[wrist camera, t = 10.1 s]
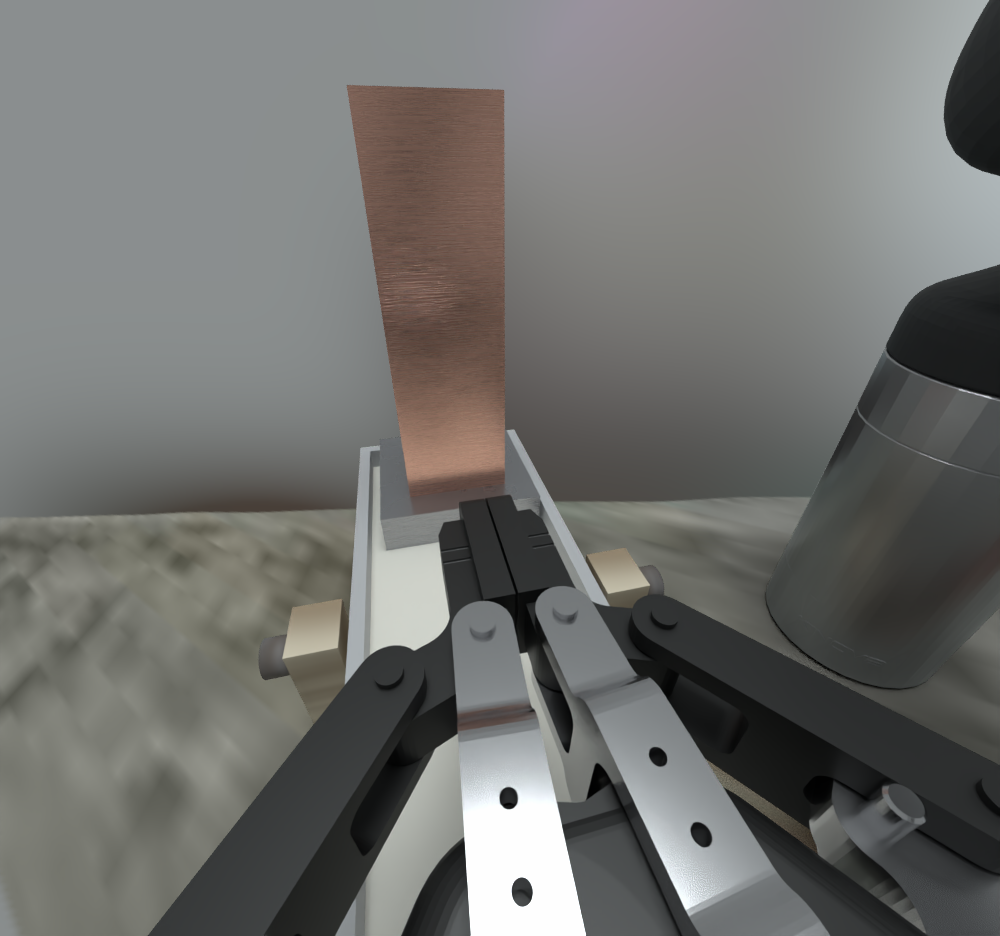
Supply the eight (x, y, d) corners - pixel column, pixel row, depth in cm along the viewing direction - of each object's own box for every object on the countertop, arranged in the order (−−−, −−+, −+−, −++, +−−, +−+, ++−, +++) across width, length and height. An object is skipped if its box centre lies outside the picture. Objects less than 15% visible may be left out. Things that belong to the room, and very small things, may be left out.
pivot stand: (664, 746, 22) (713, 633, 17) (302, 846, 19) (226, 745, 14) (600, 618, 29) (621, 508, 24) (322, 677, 26) (274, 564, 20)
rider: (538, 525, 23) (562, 83, 13) (386, 550, 22) (286, 73, 12) (503, 450, 30) (502, 114, 20) (384, 466, 28) (318, 111, 18)
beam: (789, 1044, 10) (839, 1029, 9) (342, 1242, 8) (305, 1268, 7) (513, 463, 31) (513, 429, 30) (368, 483, 30) (360, 447, 28)
